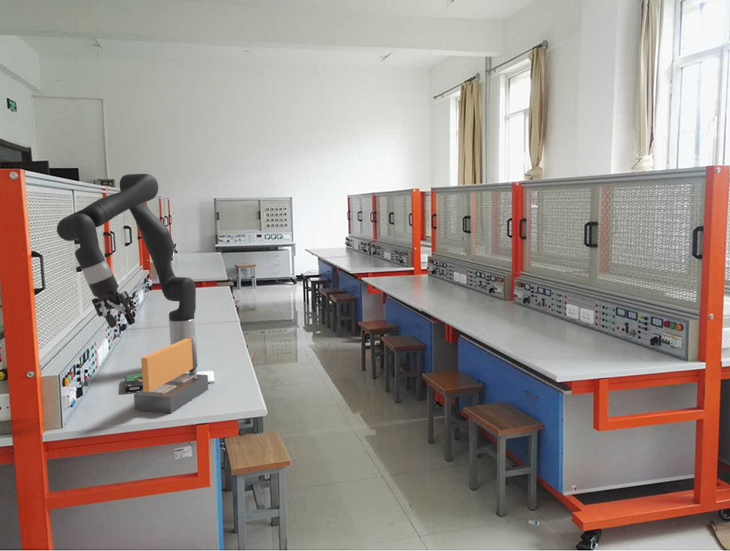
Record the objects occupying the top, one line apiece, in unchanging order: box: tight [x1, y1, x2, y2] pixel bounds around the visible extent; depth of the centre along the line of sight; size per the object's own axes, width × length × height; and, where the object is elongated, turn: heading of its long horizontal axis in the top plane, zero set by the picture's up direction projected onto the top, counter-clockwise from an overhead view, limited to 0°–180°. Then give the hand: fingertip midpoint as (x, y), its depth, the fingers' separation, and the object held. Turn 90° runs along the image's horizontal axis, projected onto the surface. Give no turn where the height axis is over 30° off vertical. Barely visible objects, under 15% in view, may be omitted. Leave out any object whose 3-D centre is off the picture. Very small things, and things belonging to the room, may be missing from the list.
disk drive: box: [124, 372, 143, 394], centre depth 195 cm, size 10×3×15 cm
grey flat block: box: [133, 373, 209, 415], centre depth 180 cm, size 22×12×5 cm, turn 166°
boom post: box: [188, 368, 197, 374], centre depth 192 cm, size 2×2×7 cm
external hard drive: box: [196, 370, 215, 384], centre depth 201 cm, size 2×8×12 cm
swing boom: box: [140, 336, 198, 392], centre depth 179 cm, size 27×3×10 cm, turn 166°
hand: (122, 325), depth 179 cm, fingers open, 8 cm apart
